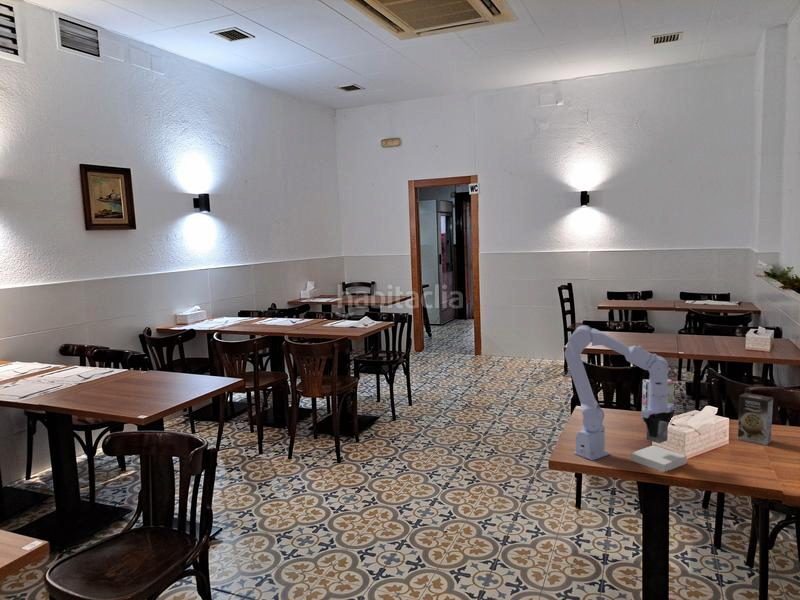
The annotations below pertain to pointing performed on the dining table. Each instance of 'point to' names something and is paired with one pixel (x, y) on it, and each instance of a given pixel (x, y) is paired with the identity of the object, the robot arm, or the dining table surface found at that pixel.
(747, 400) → the coffee box
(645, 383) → the candy bar box
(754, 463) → the dining table surface
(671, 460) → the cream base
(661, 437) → the grey block
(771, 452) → the dining table surface
